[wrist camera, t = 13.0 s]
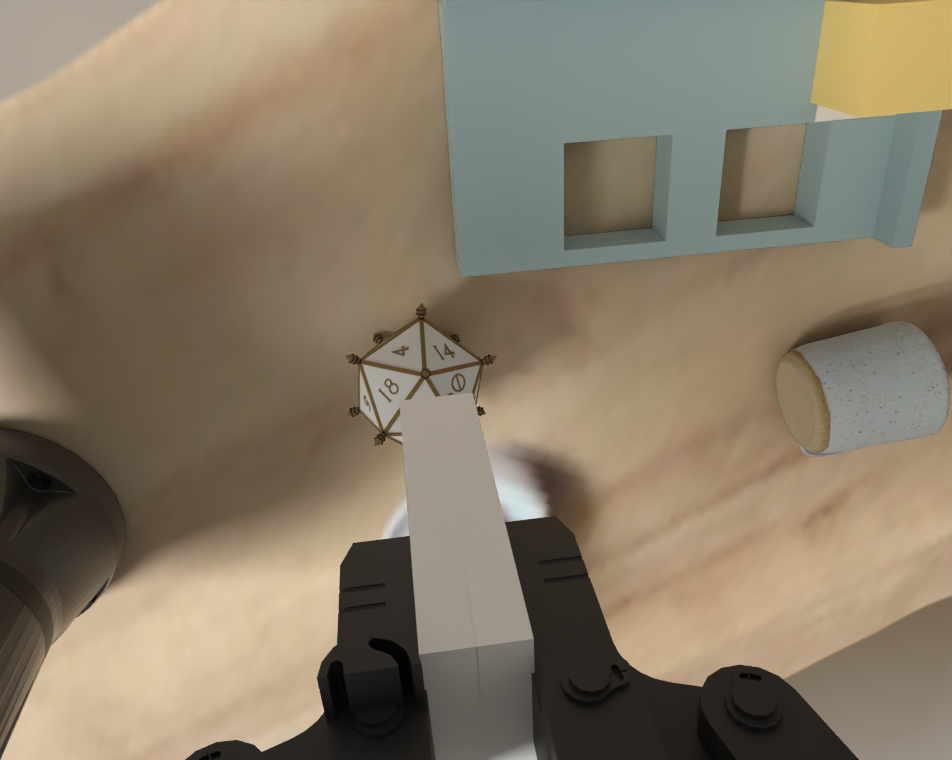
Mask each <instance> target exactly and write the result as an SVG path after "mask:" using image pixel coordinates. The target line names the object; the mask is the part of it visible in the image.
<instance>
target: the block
mask: <svg viewBox="0 0 952 760" xmlns="http://www.w3.org/2000/svg"><path fill="white" fill-rule="evenodd" d="M810 103H813V104H816V105H819V106H822V107H826V108H829V109H832V110H836V111H839V112H842V113H846V114H849V115H852V116H855V117H868V116H879V115H890V114H902V113H913V112H924V111H935V110H947V109H952V0H825V7H824V14H823V21H822V27H821V34H820V41H819V48H818V55H817V62H816V68H815V75H814V82H813V89H812V96H811V102H810Z"/></svg>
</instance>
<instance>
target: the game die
mask: <svg viewBox="0 0 952 760" xmlns="http://www.w3.org/2000/svg"><path fill="white" fill-rule="evenodd" d="M416 310H417V313H416V314H417V315H418V319H416V320H415V321H413V322H412V323H410V324H409V325H407V326H405V327H404V328H402V329H401V330H399V331H398V332H396V333H394V334H393V335H391V336H390V337H388V338H387V339H385V340H383V337H381V334H380V335H376V334H374V339H373V340H374V341H375V342H376V343H377V344H378V345H377V346H376V347H374V348H373V349H372V350H371V351H369V352H368V353H367V354H366V355H365V356H363V357H362V358H361V359H359V358H358V356H355V355H354V354H351V355H347V356H346V357H347V359H348V361H349V363H353V365H354V364H358V367H359V407H354V408H350V411H349V412H348V414H347V415H350V416H353V417H354V416H355V415H358V414H359V413H360V412H361V413H362V414H363V415H364V416H365V417H366V418H367V419H368V420H369V421H370V422H371V424H372V425H373V426H374V427H375V428H376V429H377V430H378V431H379V432H380V434H378V435H377V437H375V438H374V439H375V446H376V445H379V444H382V445H383V441H385V437H387V438H389V439H391V440H393V441H396V442H398V443H400V444H402V445H403V443H402V430H401V417H400V404H399V401H401V400H410V399H419V398H428V397H437V396H446V395H456V394H465V393H473V396H474V400H475V404H476V403H477V398H478V392H479V386H480V381H481V375H482V369H483V365H484V364H487V365H489V364H490V363H491V364H493V361H494V360H495V358H496V356H492V355H490V354H489V355H488V356H485V357H484V358H483V359H480V358H479V357H477V356H476V355H474V354H473V353H472V352H470V351H469V350H467V349H466V348H465V347H463V346H462V345H460V344H459V343H458V341H460V340H459V337H458V335H452V338H451V337H449V336H448V335H446V334H445V333H444V332H442V331H441V330H439V329H438V328H437V327H435V326H434V325H432V324H431V323H430V322H428V321H427V320H425V319H424V316H425V314H426V313H425V311H426V309H425V308H424V306H423V304H422V303H421V304H420V306H419V307H418V309H416ZM476 408H477V412H478V415H479V416H481V415H484V414H486V413H485V412H484V410H483V407H482V408H480V406H479V407H476Z"/></svg>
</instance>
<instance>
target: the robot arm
mask: <svg viewBox="0 0 952 760" xmlns="http://www.w3.org/2000/svg"><path fill="white" fill-rule="evenodd" d="M399 404H400V417H401V430H402V443H403V456H404V469H405V482H406V494H407V507H408V520H409V533H410V536H406V537H398V538H390V539H382V540H374V541H366V542H358V543H353V545H352V546H351V548H350V550H349V551H348V553H347V555H346V557H345V558H344V560H343V562H342V563H341V565H340V587H339V589H340V593H339V613H338V636H337V645H336V646H335V647H333V649H332V650H331V651H330V652H329V654H328V655H327V656H326V657H325V658H324V660H323V661H322V663H321V666H320V670H319V673H318V676H317V680H318V685H319V689H320V694H321V698H322V703H323V707H324V713H323V715H322V716H321V717H320V718H319V720H318V721H317V722H315V723H314V724H313V725H312V726H311V727H309V728H308V729H307V730H306V731H304V732H303V733H301V734H299V735H297V736H295V737H294V738H292V739H290V740H288V741H285V742H283V743H281V744H279V745H277V746H274V747H272V748H270V749H268V750H265V751H263V752H261V751H260V750H259V749H258V748H257V747H256V746H255V745H253V744H249V743H245V742H242V741H238V740H233V741H223V742H216V743H214V744H211V745H209V746H207V747H204V748H202V749H200V750H197V751H195V752H194V753H193V754H192V755H191V756H189V757H188V758H187V759H186V760H859V759H858V758H857V757H856V756H855V755H854V754H853V753H852V752H851V751H850V750H849V748H848V747H847V746H846V745H845V744H844V743H843V742H842V741H841V740H840V738H839V737H838V736H837V735H836V734H835V733H834V732H833V731H832V730H831V729H830V727H828V725H827V724H826V723H825V722H824V721H823V720H822V719H821V718H820V716H819V715H818V714H817V713H816V712H815V711H814V710H813V709H812V708H811V706H810V705H809V704H808V703H807V702H806V701H805V700H804V699H803V698H802V697H801V695H799V693H798V692H797V691H796V690H795V689H794V688H793V687H791V686H790V685H789V684H788V683H787V682H785V681H784V680H783V679H782V678H780V677H779V676H777V675H775V674H773V673H771V672H768V671H766V670H764V669H761V668H759V667H752V666H744V665H735V666H730V667H724V668H721V669H719V670H718V671H716V672H715V673H713V674H711V675H710V676H708V677H707V679H706V681H705V683H704V685H703V687H699V686H692V685H685V684H678V683H671V682H666V681H662V680H658V679H654V678H652V677H650V676H647V675H645V674H643V673H641V672H639V671H638V670H636V669H635V668H633V667H632V666H631V665H629V663H628V662H627V661H626V660H624V659H623V658H622V656H621V655H620V654H619V653H618V651H617V649H616V647H615V645H614V643H613V641H612V638H611V635H610V632H609V630H608V627H607V624H606V621H605V619H604V616H603V613H602V610H601V608H600V605H599V602H598V599H597V597H596V594H595V591H594V588H593V586H592V583H591V580H590V578H589V577H588V572H587V569H586V566H585V564H584V561H583V560H582V555H581V553H580V550H579V547H578V544H577V542H576V539H575V536H574V534H573V533H572V532H571V531H570V530H569V529H568V528H567V527H566V526H565V525H564V524H563V523H562V522H561V521H560V520H559V519H558V518H556V517H555V516H552V517H544V518H536V519H528V520H520V521H512V522H505V521H504V517H503V513H502V509H501V505H500V501H499V497H498V493H497V489H496V485H495V481H494V477H493V473H492V469H491V465H490V461H489V457H488V453H487V449H486V445H485V441H484V437H483V433H482V429H481V425H480V420H479V416H478V412H477V408H476V404H475V400H474V396H473V393H465V394H456V395H446V396H437V397H428V398H419V399H410V400H401V401H399ZM125 538H126V530H125V522H124V517H123V514H122V510H121V508H120V505H119V503H118V501H117V499H116V497H115V495H114V494H113V492H112V490H111V489H110V488H109V486H108V485H107V484H106V482H105V481H104V480H103V479H102V478H101V477H100V476H99V475H98V474H97V472H96V471H94V470H93V469H92V468H91V467H90V466H89V465H88V464H86V463H85V462H84V461H83V460H81V459H80V458H78V457H77V456H75V455H74V454H72V453H71V452H69V451H67V450H66V449H64V448H62V447H60V446H58V445H56V444H54V443H52V442H49V441H47V440H45V439H42V438H39V437H36V436H33V435H30V434H27V433H23V432H19V431H15V430H10V429H4V428H0V760H1V757H2V755H3V753H4V750H5V748H6V746H7V744H8V741H9V739H10V737H11V734H12V732H13V730H14V728H15V725H16V723H17V721H18V719H19V716H20V714H21V712H22V709H23V707H24V705H25V703H26V700H27V698H28V696H29V693H30V691H31V689H32V687H33V684H34V682H35V680H36V677H37V675H38V673H39V671H40V668H41V666H42V664H43V662H44V659H45V657H46V655H47V653H48V651H49V648H50V646H51V645H52V644H53V643H54V642H55V641H56V640H57V639H58V638H59V637H60V636H61V635H62V634H63V633H64V631H65V630H66V629H67V628H68V627H69V625H70V624H71V622H72V621H73V620H74V619H75V618H76V617H78V616H79V615H81V614H82V613H84V612H85V611H86V610H87V609H89V608H90V607H91V606H92V605H93V604H94V603H95V602H96V601H97V600H98V599H99V598H100V596H101V595H102V594H103V593H104V591H105V590H106V588H107V587H108V585H109V583H110V582H111V580H112V578H113V575H114V573H115V571H116V568H117V566H118V563H119V561H120V559H121V556H122V553H123V550H124V545H125Z"/></svg>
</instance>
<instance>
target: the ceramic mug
mask: <svg viewBox="0 0 952 760" xmlns="http://www.w3.org/2000/svg"><path fill="white" fill-rule="evenodd" d="M776 390H777V397H778V402H779V406H780V409H781V412H782V415H783V418H784V421H785V423H786V425H787V427H788V429H789V431H790V433H791V435H792V436H793V438H794V439H795V440H796V442H797V443H798V445H799V447H800V449H801V450H802V452H803V453H804V454H806V455H809V456H813V457H823V456H831V455H836V454H840V453H843V452H847V451H850V450H853V449H857V448H862V447H867V446H872V445H878V444H885V443H891V442H897V441H902V440H908V439H914V438H920V437H924V436H928V435H931V434H934V433H936V432H938V431H939V430H940V429H941V428H942V426H943V425H944V424H945V422H946V419H947V416H948V411H949V405H950V391H949V382H948V376H947V372H946V369H945V366H944V363H943V361H942V359H941V357H940V355H939V353H938V351H937V349H936V347H935V345H934V344H933V343H932V341H931V340H930V339H929V338H928V337H927V336H926V334H925V333H924V332H923V331H922V330H921V329H920V328H918V327H917V326H915V325H914V324H911V323H909V322H905V321H895V322H890V323H886V324H883V325H879V326H875V327H871V328H867V329H864V330H860V331H856V332H851V333H847V334H844V335H840V336H836V337H833V338H828V339H824V340H820V341H815V342H811V343H807V344H805V345H802V346H800V347H797V348H795V349H792V350H791V351H789V352H788V353H786V354H785V355H784V356H783V358H782V359H781V361H780V362H779V365H778V367H777V373H776Z"/></svg>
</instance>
